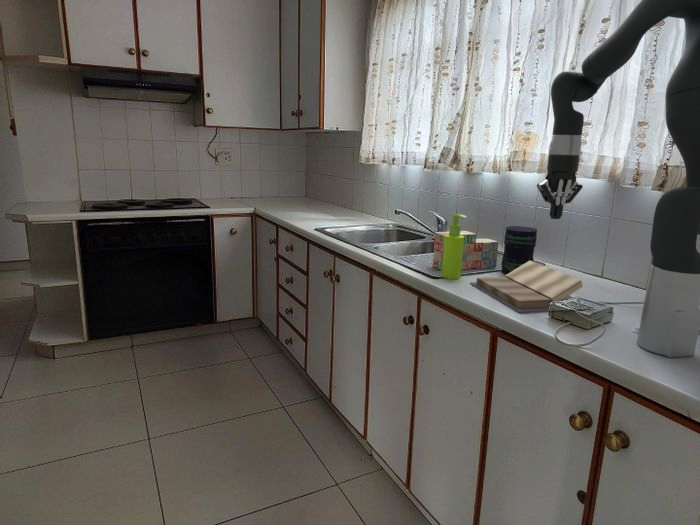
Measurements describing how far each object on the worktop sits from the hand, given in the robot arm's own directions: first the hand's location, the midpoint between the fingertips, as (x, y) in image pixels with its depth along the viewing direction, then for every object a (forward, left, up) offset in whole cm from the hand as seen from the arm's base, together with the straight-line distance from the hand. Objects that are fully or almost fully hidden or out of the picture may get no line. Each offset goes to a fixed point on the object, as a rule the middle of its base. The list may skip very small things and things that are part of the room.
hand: (555, 218), depth 127 cm
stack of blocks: (+33, +8, -22) cm, 40 cm away
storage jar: (+23, -6, -22) cm, 32 cm away
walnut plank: (0, +11, -22) cm, 24 cm away
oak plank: (0, +1, -18) cm, 18 cm away
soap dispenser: (+21, +18, -22) cm, 36 cm away
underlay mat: (0, +5, -22) cm, 22 cm away
